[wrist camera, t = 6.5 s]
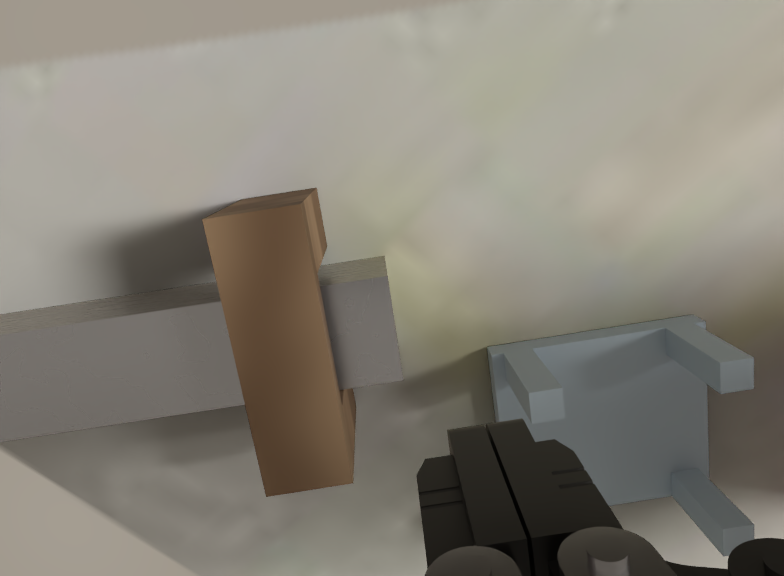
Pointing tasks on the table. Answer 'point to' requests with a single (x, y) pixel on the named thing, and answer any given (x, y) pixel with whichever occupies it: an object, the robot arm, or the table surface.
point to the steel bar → (170, 353)
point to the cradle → (631, 410)
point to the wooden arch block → (283, 339)
